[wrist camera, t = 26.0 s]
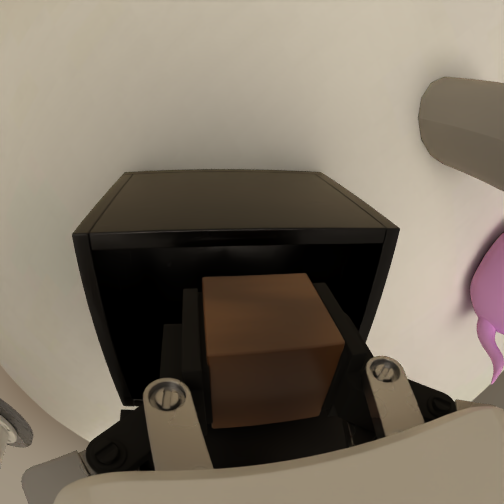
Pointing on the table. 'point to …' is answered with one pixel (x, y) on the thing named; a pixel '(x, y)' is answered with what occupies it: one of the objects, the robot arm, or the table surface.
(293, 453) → the box lid
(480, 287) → the teapot
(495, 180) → the faceted grey tumbler
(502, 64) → the table surface
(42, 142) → the table surface
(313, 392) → the block
